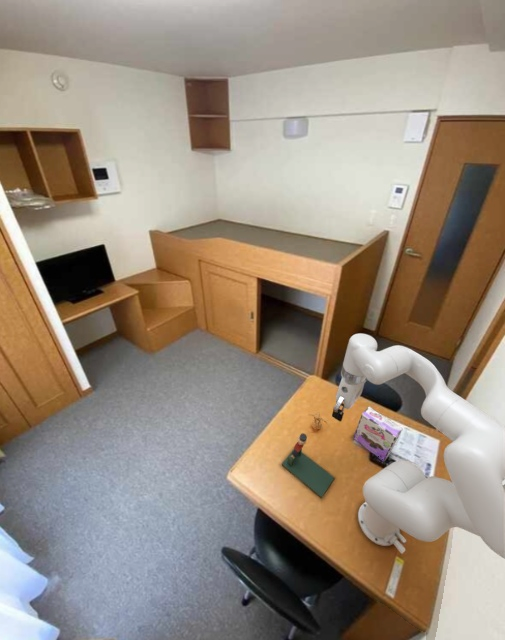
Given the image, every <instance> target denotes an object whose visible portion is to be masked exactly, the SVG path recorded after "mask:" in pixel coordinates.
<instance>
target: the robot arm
mask: <svg viewBox="0 0 505 640" xmlns="http://www.w3.org/2000/svg"><path fill="white" fill-rule="evenodd" d="M377 350H378V342H377V340H376V339H375V338H374V337H373V336H372V335H370V334H367V333H361V332H360V333H355V334H353V335H352V336H350V338H349V339H348V343H347V347H346V350H345V354H344V355H345V356H344V359H343V362H342V366H341V369H340V376H341V380H340V382H339V385H338V387H337V392H336V394H335V405H334V406H333V408H332V413H331V417H332V418H334V419H335V420H336V421H338V422H339V423H340V422H342V420H343V417H344V414H345V412H344V411H345V409H346V410H350V409H351V408H352V407H353V406H354V405H355V404H356V402H357V400H359V398H360V397H361V395H362V393H363V390H364V386H365V384H366V382H367V381H369V383H371V384H373V385H383V384H385V383H387V382H388V381H391V380H393V379H395V378H397V377H399V376H401V375H403V374H405V375H407V376H408V377H410V378H411V379H413V380H415V382H417V383H418V384H419V385H420V386H421V387H422V389H423V391H424V393H425V398H424V400H423V402H422V405H421V407H420V414H421V417H422V418H423V419H424V420H425V421H426V422H428V424H430V425H431V426H432V427H433V428H435V429H436V430H438V432H440V433H441V434H443V435H444V436H445V437H446V438H448V439H449V440H450V441H451V442H450V443H449V444H448V445H447V446H446V447H445V448H444V451H443V461H444V465H445V468H446V471H447V473H448V475H449V477H450V480H451V481H450V480H449V479H446V478H443V477H439V476H435V475H431V476H428V477H426V475H425V473H424V471H423V470H422V468H421V467H420V466H419V465H418V464H416V463H415V462H413V461H411V460H408V459H398V460H395V461H393V462H392V463H390V464H388V465H386V466H385V467H384V468H382V469H381V470H380V471H378V472H377V473H375V474H374V475H372V476H370V477H369V478H368V479H366V481H364V484H363V486H362V496H363V498H364V501H365V502H363V503H362V504H361V505H360V507H359V509H358V513H357V520H358V524H359V527H360V529H361V531H362V532H363V534H364V535H365V536H366V537H367V538H368V540H370V541H371V542H372V543H374V544H376V545H378V546H381V547H389V546H392V545H393V546H394V547H395V548H396V550H398V552H399V553H400V554H401V555H402V554H404V552H405V551H406V550H407V548H405V546H404V545H405V543H406V542H407V539H406V538H405V536H403V535H402V533H401V532H400V530H401V531H402V532H404V533H406V534H407V535H409V536H411V537H413V538H415V539H416V540H418V541H421V542H426V543H430V542H434V541H435V542H436V540H438V539H440V538H441V537H442V536H443V535H445V534H446V533H447V532H448V531H449V530H451V529H453V528H458V529H461V530H464V531H466V532H468V533H471V534H473V535H475V536H477V537H479V538H480V539H481V540H482V541H483V543H484V544H485V545H486V546H487V547H488V548H489V549H490V550H491V551H493V552H494V554H496V555H498V556H499V557H500V558H502V559H505V483H504V484H503V481H505V424H503V423H501V422H499V420H497V419H495V418H493V417H492V416H491V415H489V414H488V413H486V412H484V411H482V410H481V409H480V408H478V407H477V406H475V405H474V404H472V403H471V402H469V401H467V400H466V399H465V398H463V397H462V396H460V395H458V394H457V393H455V392H454V391H452V390H451V389H450V388H449V387H448V385H447V384H446V381H445V379H444V377H443V375H442V374H441V373H440V371H439V370H438V369H437V367H436V366H435V364H433V363H432V362H431V361H430V360H429V359H427V357H424V356H423V355H421V354H420V353H418V352H416V351H414V350H413V349H412V348H409V347H407V346H404V345H399V344H397V345H392V346H389V347H386V348H383V349H382V350H378V351H377ZM341 406H342V407H341ZM340 408H341V409H340ZM398 539H399V540H400V541H399V540H398ZM403 544H404V545H403Z"/></svg>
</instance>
